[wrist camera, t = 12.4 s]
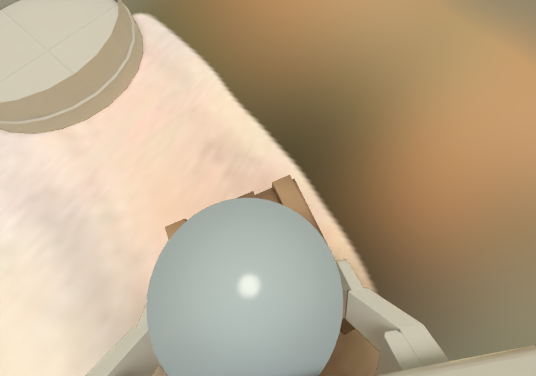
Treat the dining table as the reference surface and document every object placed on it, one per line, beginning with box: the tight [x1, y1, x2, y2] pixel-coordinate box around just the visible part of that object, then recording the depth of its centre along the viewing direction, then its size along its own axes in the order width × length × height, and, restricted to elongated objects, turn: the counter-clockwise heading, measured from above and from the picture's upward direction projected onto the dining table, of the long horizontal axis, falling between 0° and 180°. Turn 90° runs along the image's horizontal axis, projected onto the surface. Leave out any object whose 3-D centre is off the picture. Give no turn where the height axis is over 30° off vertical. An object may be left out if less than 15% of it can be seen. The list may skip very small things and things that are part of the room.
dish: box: [0, 0, 143, 134], centre depth 26 cm, size 22×22×5 cm
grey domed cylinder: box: [147, 198, 343, 376], centre depth 12 cm, size 6×6×10 cm
